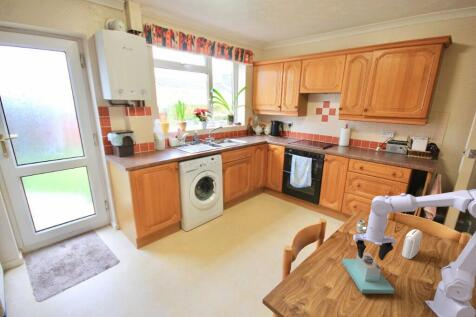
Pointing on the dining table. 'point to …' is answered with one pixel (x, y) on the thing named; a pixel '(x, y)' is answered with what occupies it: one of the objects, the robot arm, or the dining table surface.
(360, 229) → the valve
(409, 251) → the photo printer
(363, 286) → the teal flat slab
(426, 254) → the dining table surface
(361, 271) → the housing
